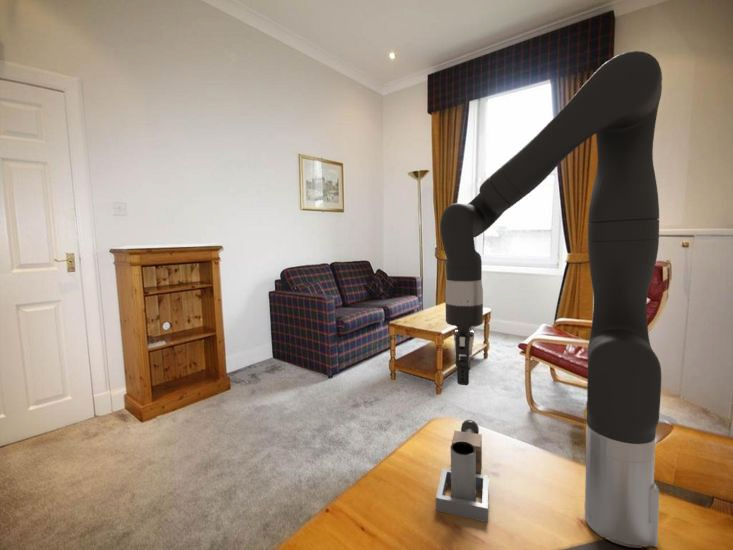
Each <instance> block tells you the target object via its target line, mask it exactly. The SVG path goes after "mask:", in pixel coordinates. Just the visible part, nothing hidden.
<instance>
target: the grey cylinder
mask: <svg viewBox="0 0 733 550" xmlns="http://www.w3.org/2000/svg"><path fill="white" fill-rule="evenodd" d="M450 469H451V484H450V486H451V487H450V488H451V489H450V491H451V492H450V493H451V494H450V495H451V496H450V497H454V498H459V499H463V500H468V501H473V502H477V489H476V450H475V447H474V446H473V445H472V444H470V443H468V442H463V441H458V442H454V443H453V444H452V443H451V444H450Z"/></svg>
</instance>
